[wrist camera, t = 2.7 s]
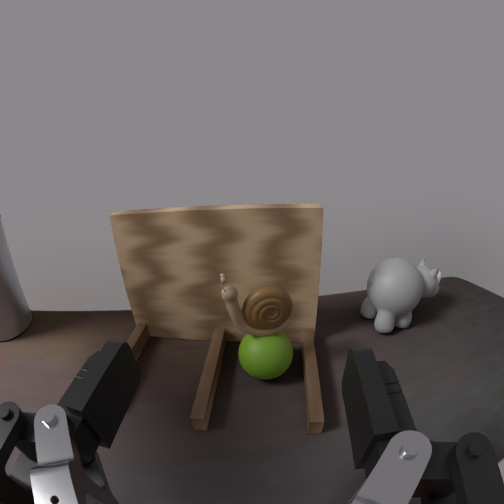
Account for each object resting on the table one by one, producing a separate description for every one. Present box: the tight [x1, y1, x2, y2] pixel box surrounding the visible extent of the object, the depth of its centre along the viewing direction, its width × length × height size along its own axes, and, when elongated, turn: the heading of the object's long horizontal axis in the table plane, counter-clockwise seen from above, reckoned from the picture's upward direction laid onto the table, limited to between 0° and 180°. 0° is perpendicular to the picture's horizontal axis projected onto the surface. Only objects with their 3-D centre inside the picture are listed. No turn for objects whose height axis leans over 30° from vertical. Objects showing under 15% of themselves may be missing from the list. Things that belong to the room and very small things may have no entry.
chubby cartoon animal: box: [360, 257, 441, 333], centre depth 34 cm, size 8×12×9 cm, turn 98°
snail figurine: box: [220, 273, 293, 380], centre depth 26 cm, size 5×6×12 cm
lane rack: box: [110, 204, 324, 434], centre depth 25 cm, size 22×14×16 cm, turn 86°
